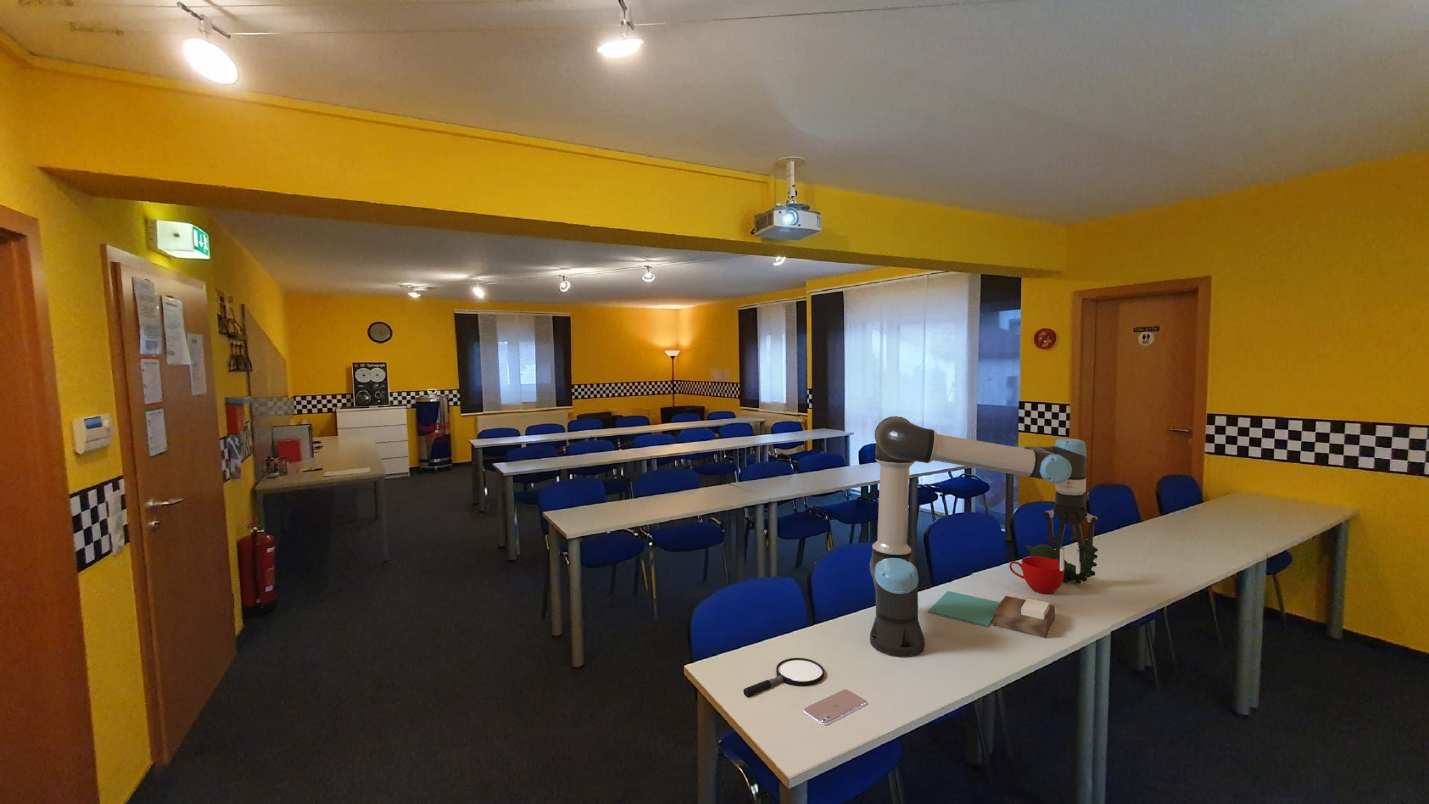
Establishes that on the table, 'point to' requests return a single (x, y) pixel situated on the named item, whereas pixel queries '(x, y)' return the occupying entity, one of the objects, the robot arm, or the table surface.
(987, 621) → the mat
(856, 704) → the mobile phone
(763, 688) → the magnifying glass
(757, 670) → the table surface
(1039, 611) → the tile
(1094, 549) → the toy figurine
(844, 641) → the table surface
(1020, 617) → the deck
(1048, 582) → the ceramic cup
